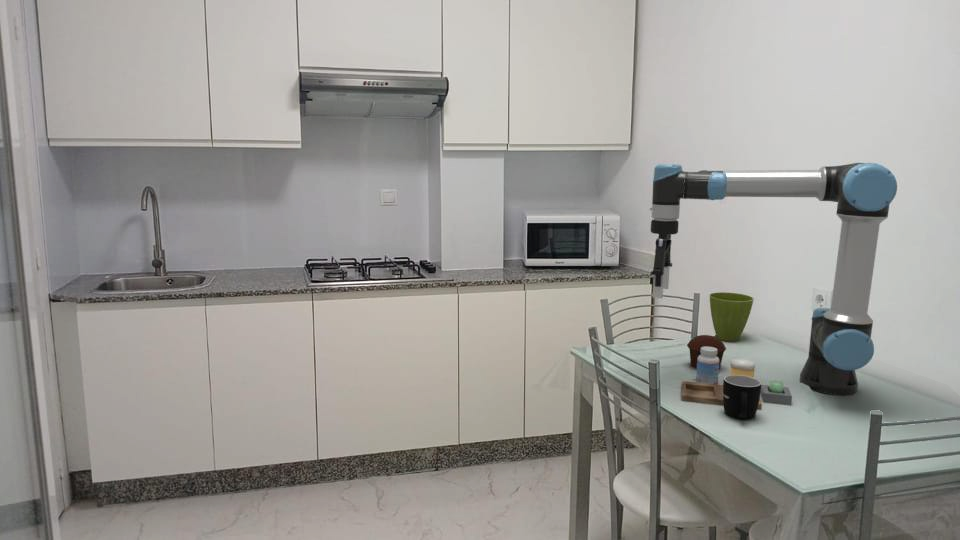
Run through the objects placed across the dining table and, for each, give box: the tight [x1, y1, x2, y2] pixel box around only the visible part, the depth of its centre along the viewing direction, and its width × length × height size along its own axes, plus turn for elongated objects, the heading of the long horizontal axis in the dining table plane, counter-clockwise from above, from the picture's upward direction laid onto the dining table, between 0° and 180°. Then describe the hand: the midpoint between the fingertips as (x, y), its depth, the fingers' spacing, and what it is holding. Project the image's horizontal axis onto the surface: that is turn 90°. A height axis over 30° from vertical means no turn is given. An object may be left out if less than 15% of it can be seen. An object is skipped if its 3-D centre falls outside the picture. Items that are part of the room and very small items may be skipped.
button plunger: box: [769, 380, 785, 393], centre depth 178 cm, size 3×3×4 cm
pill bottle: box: [695, 347, 720, 385], centre depth 190 cm, size 6×6×11 cm
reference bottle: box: [729, 356, 756, 378], centre depth 177 cm, size 6×6×11 cm
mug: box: [722, 374, 762, 421], centre depth 166 cm, size 12×9×10 cm
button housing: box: [760, 384, 793, 406], centre depth 178 cm, size 7×7×4 cm
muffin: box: [686, 334, 727, 370], centre depth 207 cm, size 12×11×10 cm
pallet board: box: [680, 380, 763, 411], centre depth 179 cm, size 20×12×2 cm, turn 73°
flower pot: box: [709, 291, 754, 343], centre depth 238 cm, size 15×15×16 cm
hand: (660, 293), depth 188 cm, fingers open, 13 cm apart
